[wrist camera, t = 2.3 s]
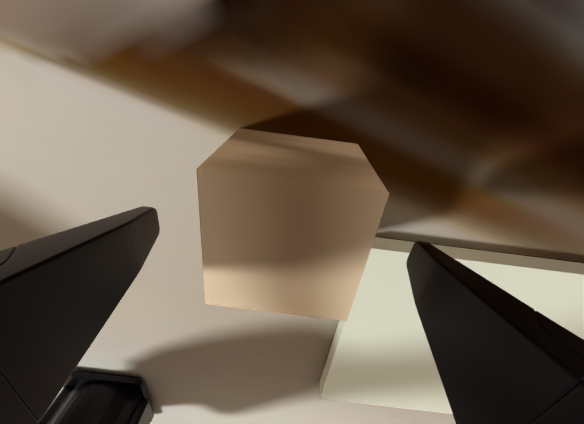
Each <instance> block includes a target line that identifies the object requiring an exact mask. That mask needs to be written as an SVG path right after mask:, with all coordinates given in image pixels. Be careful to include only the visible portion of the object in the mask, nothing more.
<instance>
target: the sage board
mask: <svg viewBox="0 0 584 424" xmlns="http://www.w3.org/2000/svg"><path fill="white" fill-rule="evenodd" d="M414 243H415V242H410V241H402V240H394V239H386V238H378V237H375V239H374V242H373V245H372V248H371V251H370V254H369V257H368V259H367V262H366V265H365V268H364V271H363V274H362V277H361V280H360V283H359V286H358V289H357V292H356V295H355V298H354V301H353V304H352V307H351V310H350V313H349V316H348V319H347V321H341V320H339V323H338V326H337V329H336V332H335V335H334V339H333V342H332V345H331V348H330V351H329V354H328V358H327V361H326V364H325V367H324V370H323V374H322V377H321V380H320V383H319V393H320V399H327V400H336V401H344V402H353V403H362V404H370V405H379V406H388V407H396V408H405V409H414V410H422V411H431V412H439V413H448V414H453V413H452V410H451V407H450V404H449V402H448V399H447V396H446V393H445V390H444V387H443V384H442V381H441V378H440V375H439V373H438V370H437V367H436V364H435V361H434V358H433V355H432V352H431V349H430V346H429V344H428V341H427V338H426V335H425V332H424V329H423V326H422V323H421V320H420V317H419V315H418V312H417V308H416V305H415V302H414V298H413V293H412V289H411V284H410V280H409V275H408V271H407V266H406V262H407V258H408V256H409V254H410V251H411V249H412V247H413V245H414ZM432 245H433V246H435V247H436V248H438V249H439V250H441V251H443V252H444V253H446V254H447V255H449V256H451V257H452V258H454V259H455V260H457V261H458V262H460V263H462V264H463V265H465V266H466V267H468V268H470V269H471V270H473V271H474V272H476V273H478V274H479V275H481V276H482V277H484V278H485V279H487V280H489V281H490V282H492V283H493V284H495V285H497V286H498V287H500V288H501V289H503V290H505V291H506V292H508V293H509V294H511V295H512V296H514V297H516V298H517V299H519V300H520V301H522V302H524V303H525V304H527V305H528V306H530V307H532V308H533V309H534V310H535V311H538V312H540V313H541V314H543V315H544V316H546V317H548V318H549V319H551V320H552V321H554V322H556V323H557V324H559V325H560V326H562V327H564V328H565V329H567V330H569V331H570V332H572V333H573V334H575V335H577V336H578V337H580V338H582V339H584V263H577V262H569V261H561V260H553V259H546V258H538V257H530V256H522V255H514V254H506V253H498V252H490V251H482V250H474V249H466V248H458V247H450V246H442V245H434V244H432Z"/></svg>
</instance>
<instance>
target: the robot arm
mask: <svg viewBox="0 0 584 424" xmlns="http://www.w3.org/2000/svg"><path fill="white" fill-rule="evenodd" d="M159 230H160V228H159V221H158V215H157V211H156V209H155V208H152V207H139V208H136V209H133V210H129V211H126V212H123V213H120V214H117V215H113V216H110V217H107V218H104V219H101V220H98V221H94V222H91V223H88V224H85V225H82V226H79V227H75V228H72V229H69V230H66V231H63V232H59V233H56V234H53V235H50V236H47V237H44V238H40V239H37V240H34V241H31V242H28V243H25V244H21V245H19V246H18V247H12V248H8V249H5V250H2V251H0V424H150V422H151V421H152V419H153V417H154V414H153V411H152V407H151V404H150V401H149V397H148V394H147V391H146V387H145V384H144V381H143V380H141V379H139V378H132V377H124V376H115V375H107V374H98V373H89V372H81V371H74V369H75V368H76V366H77V365H78V363H79V362H80V360H81V359H82V357H83V356H84V354H85V353H86V351H87V350H88V348H89V347H90V345H91V344H92V342H93V341H94V339H95V338H96V336H97V335H98V333H99V332H100V330H101V329H102V327H103V326H104V324H105V323H106V321H107V320H108V318H109V317H110V315H111V314H112V312H113V311H114V309H115V308H116V306H117V305H118V303H119V302H120V300H121V299H122V297H123V296H124V294H125V293H126V291H127V290H128V288H129V287H130V285H131V284H132V282H133V281H134V279H135V278H136V276H137V274H138V273H139V271H140V270H141V268H142V266H143V264H144V262H145V260H146V258H147V256H148V254H149V252H150V250H151V249H152V247H153V245H154V243H155V241H156V239H157V237H158V235H159ZM406 266H407V271H408V275H409V280H410V284H411V289H412V293H413V298H414V302H415V305H416V308H417V312H418V315H419V317H420V320H421V323H422V326H423V329H424V332H425V335H426V338H427V341H428V344H429V346H430V349H431V352H432V355H433V358H434V361H435V364H436V367H437V370H438V373H439V375H440V378H441V381H442V384H443V387H444V390H445V393H446V396H447V399H448V402H449V404H450V407H451V410H452V413H453V416H454V419H455V422H456V424H584V339H582V338H580V337H578V336H577V335H575V334H573V333H572V332H570V331H569V330H567V329H565V328H564V327H562V326H560V325H559V324H557V323H556V322H554V321H552V320H551V319H549V318H548V317H546V316H544V315H543V314H541V313H540V312H538V311H535V310H534V309H533V308H532V307H530V306H528V305H527V304H525V303H524V302H522V301H520V300H519V299H517V298H516V297H514V296H512V295H511V294H509V293H508V292H506V291H505V290H503V289H501V288H500V287H498V286H497V285H495V284H493V283H492V282H490V281H489V280H487V279H485V278H484V277H482V276H481V275H479V274H478V273H476V272H474V271H473V270H471V269H470V268H468V267H466V266H465V265H463V264H462V263H460V262H458V261H457V260H455V259H454V258H452V257H451V256H449V255H447V254H446V253H444V252H443V251H441V250H439V249H438V248H436V247H435V246H433V245H432V244H430V243H427V242H420V241H417V242H415V243H414V245H413V247H412V249H411V251H410V254H409V256H408V258H407V262H406ZM62 387H64V388H63V389H62ZM61 389H62V391H61V392H60V390H61ZM59 392H60V393H59ZM58 393H59V395H58ZM57 395H58V396H57ZM56 396H57V397H56ZM55 398H56V399H55ZM54 399H55V400H54ZM52 402H53V403H52Z"/></svg>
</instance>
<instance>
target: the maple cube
mask: <svg viewBox="0 0 584 424" xmlns="http://www.w3.org/2000/svg"><path fill="white" fill-rule="evenodd" d="M197 183H198V199H199V214H200V229H201V245H202V260H203V275H204V291H205V304H211V305H219V306H227V307H235V308H244V309H252V310H260V311H268V312H276V313H284V314H292V315H300V316H309V317H317V318H325V319H333V320H341V321H347V319H348V316H349V313H350V310H351V307H352V304H353V301H354V298H355V295H356V292H357V289H358V286H359V283H360V280H361V277H362V274H363V271H364V268H365V265H366V262H367V259H368V257H369V254H370V251H371V248H372V245H373V242H374V239H375V236H376V233H377V230H378V227H379V224H380V221H381V218H382V215H383V212H384V209H385V206H386V203H387V200H388V197H389V193H388V191H387V189H386V188H385V186H384V185H383V183H382V182H381V180H380V178H379V177H378V175H377V174H376V172H375V170H374V169H373V167H372V166H371V164H370V163H369V161H368V159H367V158H366V156H365V155H364V153H363V152H362V150H361V148H360V147H359V145H358V144H355V143H348V142H340V141H333V140H325V139H317V138H310V137H302V136H295V135H287V134H280V133H272V132H265V131H257V130H250V129H242V128H239V129H238V130H237V131H236V132H235V133H234V134H233V135H232V136H231V137H230V138H229V139H228V140H227V141H226V142H225V143H223V144H222V145H221V146H220V147H219V148H218V149H217V150H216V151H215V152H214V153H213V154H212V155H211V156H210V157H209V158H208V159H207V160H206V161H204V162H203V163H202V164H201V165H200V166H199V167H198V168H197Z"/></svg>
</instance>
